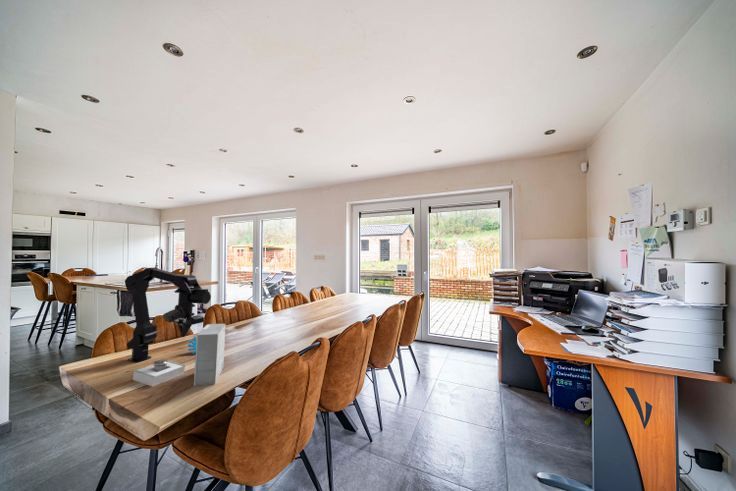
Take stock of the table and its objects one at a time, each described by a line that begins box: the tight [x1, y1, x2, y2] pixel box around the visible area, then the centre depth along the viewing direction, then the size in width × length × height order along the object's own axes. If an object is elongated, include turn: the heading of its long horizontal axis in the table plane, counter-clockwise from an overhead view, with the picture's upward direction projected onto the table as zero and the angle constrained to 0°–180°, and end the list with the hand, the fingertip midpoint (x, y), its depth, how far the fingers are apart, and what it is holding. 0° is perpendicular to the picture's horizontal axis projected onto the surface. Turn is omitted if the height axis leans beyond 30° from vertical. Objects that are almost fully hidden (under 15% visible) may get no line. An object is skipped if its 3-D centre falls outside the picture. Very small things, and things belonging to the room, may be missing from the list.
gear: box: [187, 336, 197, 355], centre depth 138 cm, size 11×6×10 cm
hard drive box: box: [193, 323, 226, 387], centre depth 111 cm, size 16×8×20 cm, turn 18°
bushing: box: [152, 359, 169, 372], centre depth 109 cm, size 5×5×6 cm
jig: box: [132, 360, 186, 387], centre depth 109 cm, size 12×12×4 cm
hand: (183, 336), depth 123 cm, fingers closed
